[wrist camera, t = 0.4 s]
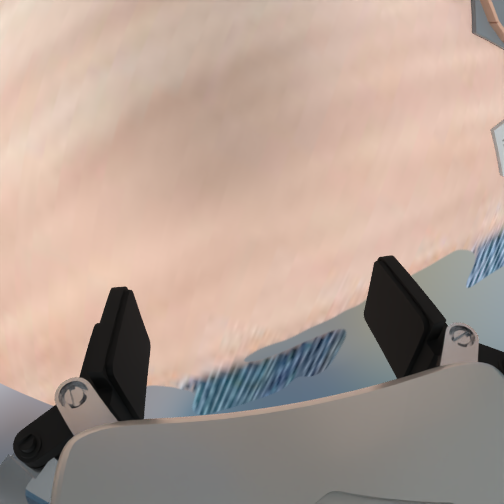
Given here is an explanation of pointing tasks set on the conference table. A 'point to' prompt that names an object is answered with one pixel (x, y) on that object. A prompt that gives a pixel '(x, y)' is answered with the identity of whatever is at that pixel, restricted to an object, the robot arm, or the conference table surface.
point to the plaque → (499, 144)
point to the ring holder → (489, 20)
